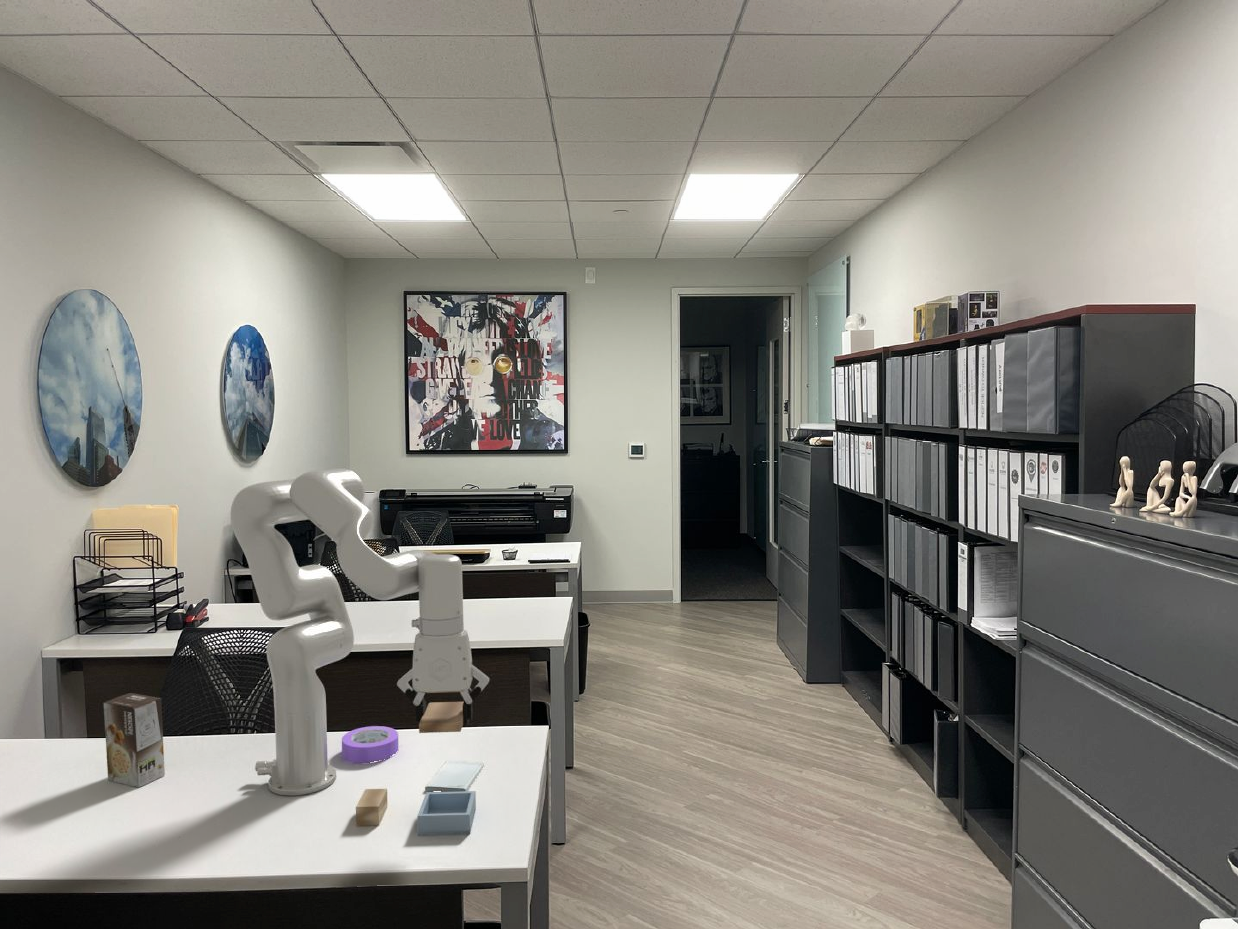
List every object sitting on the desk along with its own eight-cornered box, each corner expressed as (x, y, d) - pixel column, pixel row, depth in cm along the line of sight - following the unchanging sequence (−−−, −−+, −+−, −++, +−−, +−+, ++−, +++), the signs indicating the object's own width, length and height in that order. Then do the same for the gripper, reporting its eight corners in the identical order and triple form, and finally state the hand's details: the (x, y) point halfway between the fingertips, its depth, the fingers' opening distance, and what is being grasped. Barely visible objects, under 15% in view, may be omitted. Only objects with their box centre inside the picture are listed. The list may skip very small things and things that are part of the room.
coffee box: (166, 775, 174) (163, 697, 173) (138, 788, 168) (134, 708, 167) (134, 768, 177) (130, 691, 176) (105, 780, 171) (101, 702, 170)
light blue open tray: (417, 835, 149) (417, 816, 149) (426, 811, 158) (426, 792, 158) (470, 834, 150) (469, 814, 150) (475, 809, 159) (475, 791, 159)
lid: (419, 733, 147) (418, 723, 147) (429, 711, 158) (429, 702, 158) (460, 731, 148) (460, 722, 147) (468, 710, 158) (467, 701, 158)
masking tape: (407, 744, 190) (407, 727, 189) (384, 766, 178) (383, 748, 178) (357, 741, 192) (357, 724, 191) (331, 762, 180) (331, 745, 180)
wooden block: (356, 826, 153) (355, 807, 152) (365, 807, 160) (365, 789, 159) (379, 825, 153) (378, 806, 153) (387, 807, 160) (387, 788, 160)
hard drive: (465, 788, 165) (484, 761, 177) (424, 786, 166) (445, 759, 178) (466, 797, 165) (484, 769, 177) (424, 794, 166) (445, 767, 178)
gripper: (387, 632, 147) (390, 734, 148) (489, 629, 148) (491, 730, 149) (396, 621, 155) (399, 718, 156) (493, 619, 156) (495, 715, 157)
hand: (444, 723), depth 153 cm, fingers closed on lid, 7 cm apart
